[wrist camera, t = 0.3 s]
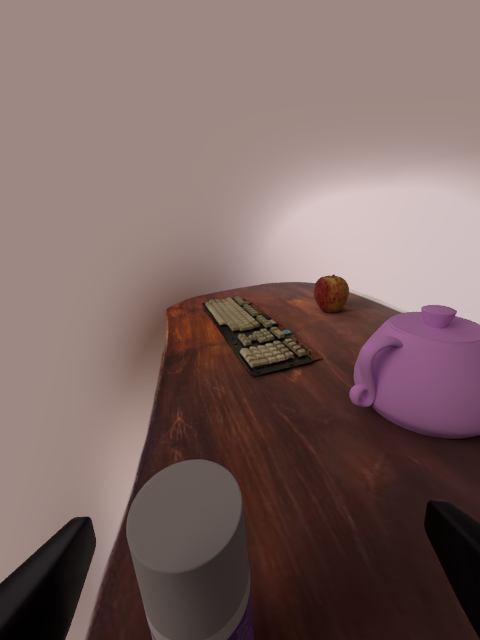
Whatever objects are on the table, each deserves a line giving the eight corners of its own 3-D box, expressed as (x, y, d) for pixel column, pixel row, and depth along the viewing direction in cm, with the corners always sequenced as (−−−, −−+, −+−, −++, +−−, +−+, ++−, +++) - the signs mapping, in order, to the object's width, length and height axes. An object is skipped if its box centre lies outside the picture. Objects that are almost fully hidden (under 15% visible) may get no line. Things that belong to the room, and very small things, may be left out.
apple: (309, 306, 81) (310, 272, 78) (339, 304, 81) (342, 270, 78) (319, 317, 72) (321, 279, 69) (353, 314, 73) (356, 277, 69)
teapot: (406, 475, 28) (431, 355, 23) (314, 383, 44) (318, 301, 40) (569, 418, 34) (615, 314, 30) (437, 356, 50) (453, 281, 46)
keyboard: (201, 306, 87) (200, 298, 86) (245, 300, 91) (245, 292, 90) (250, 379, 46) (250, 366, 45) (326, 362, 50) (327, 350, 49)
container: (220, 611, 19) (198, 441, 14) (274, 685, 16) (270, 501, 11) (160, 688, 16) (102, 508, 11) (211, 799, 13) (164, 620, 8)
